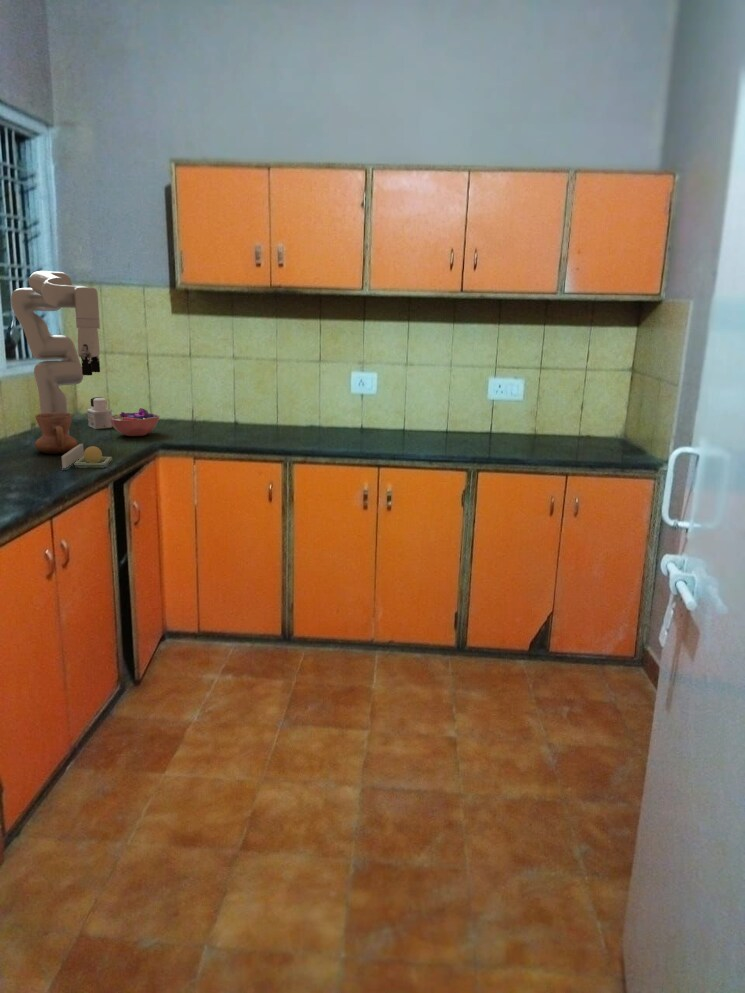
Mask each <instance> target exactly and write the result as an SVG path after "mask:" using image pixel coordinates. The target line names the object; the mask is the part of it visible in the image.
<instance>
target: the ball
mask: <svg viewBox="0 0 745 993" xmlns="http://www.w3.org/2000/svg"><path fill="white" fill-rule="evenodd" d="M102 457H103V452H102V450H101V449H100V448H99V447H97V446H93V445H92V446H88V447H86V448H85V449H84V458H85V460H86V461H87V462H89V463H97V462H99V461H100V460H101V458H102Z"/></svg>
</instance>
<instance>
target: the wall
mask: <svg viewBox="0 0 745 993" xmlns="http://www.w3.org/2000/svg"><path fill="white" fill-rule="evenodd" d="M84 451H85V449H84V443H79V444H77V446H76V447H74V448H73V449H71V450H70V451H69V452H67V453H63V455H62V456H61V466H62V469H63V468H66V467H68V466H69V465H71V464H72V463H74V462H75V461H77V460H78V459H80V458H81V457H83V456H84Z"/></svg>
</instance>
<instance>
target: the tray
mask: <svg viewBox="0 0 745 993" xmlns="http://www.w3.org/2000/svg"><path fill="white" fill-rule="evenodd" d="M84 460H85V458H84V456H83V457H81V458H80V459H79V460H77V461H76V462H75V463H74V465H106V464H107V463H108V462H109V461H111V460H112V461H113V457H112V456H102V458H101V460H105V461H104V462H102V463H86V462H82V461H84ZM74 465H73V466H74Z"/></svg>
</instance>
